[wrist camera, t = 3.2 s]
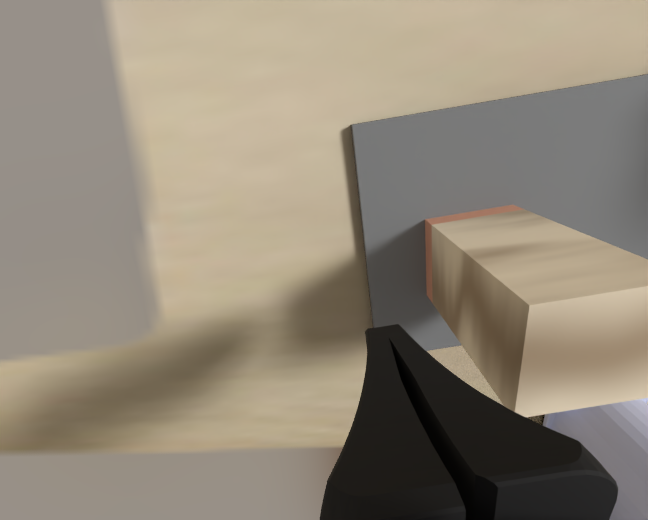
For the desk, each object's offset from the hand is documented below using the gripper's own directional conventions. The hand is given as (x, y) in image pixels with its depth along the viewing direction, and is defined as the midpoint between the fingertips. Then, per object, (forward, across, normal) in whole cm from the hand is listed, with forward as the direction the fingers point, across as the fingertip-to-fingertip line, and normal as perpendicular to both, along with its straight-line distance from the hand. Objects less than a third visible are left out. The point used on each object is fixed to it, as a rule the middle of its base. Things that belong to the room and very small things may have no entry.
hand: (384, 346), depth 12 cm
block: (+7, -7, 0) cm, 10 cm away
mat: (+7, -10, 0) cm, 12 cm away
